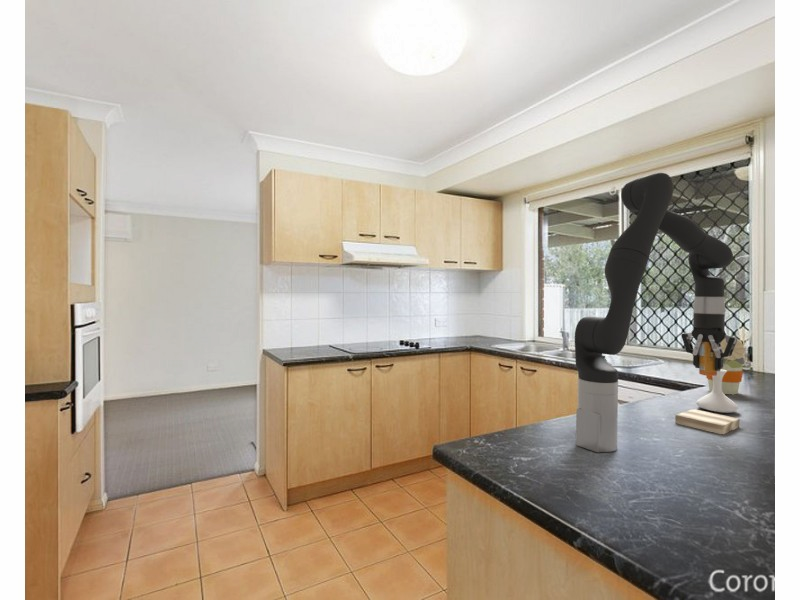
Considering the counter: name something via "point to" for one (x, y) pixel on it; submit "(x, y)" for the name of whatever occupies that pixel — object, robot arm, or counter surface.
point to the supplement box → (707, 360)
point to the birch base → (707, 421)
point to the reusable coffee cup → (729, 378)
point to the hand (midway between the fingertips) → (707, 368)
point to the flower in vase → (716, 397)
